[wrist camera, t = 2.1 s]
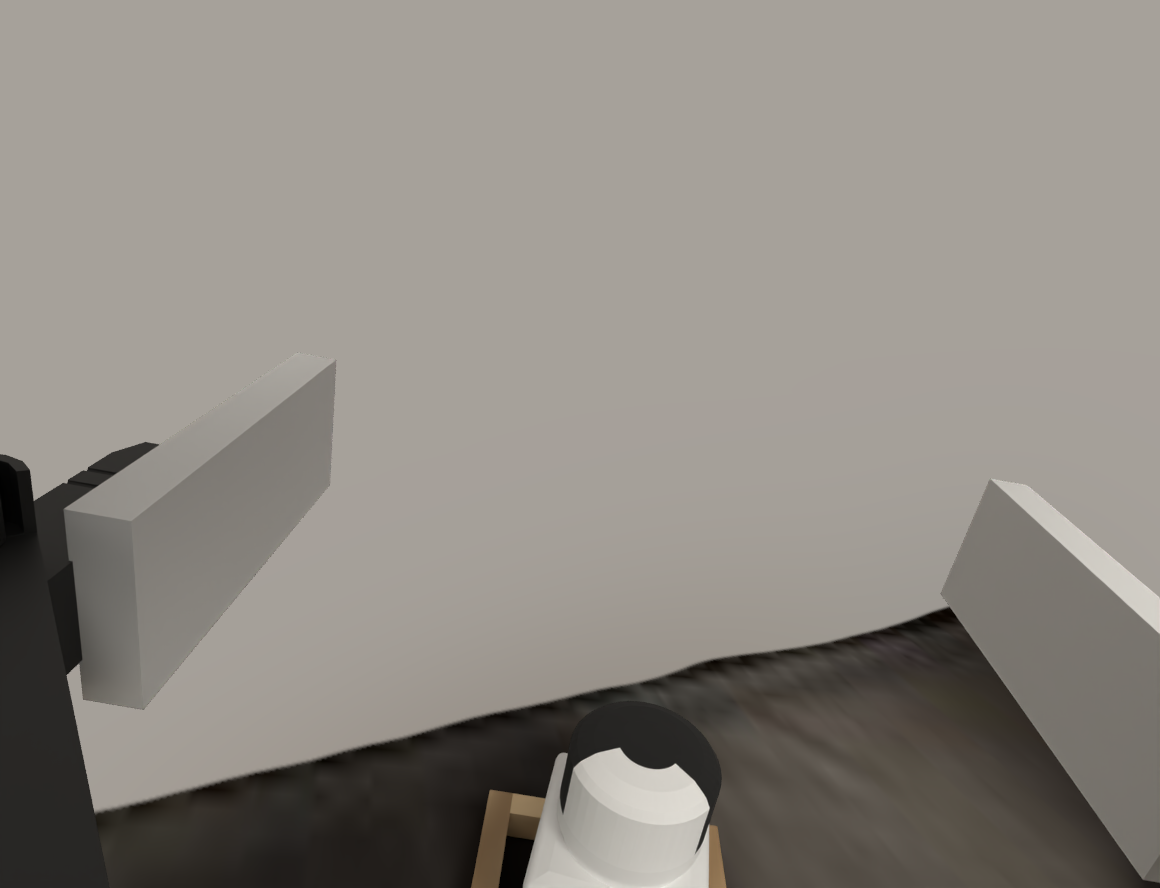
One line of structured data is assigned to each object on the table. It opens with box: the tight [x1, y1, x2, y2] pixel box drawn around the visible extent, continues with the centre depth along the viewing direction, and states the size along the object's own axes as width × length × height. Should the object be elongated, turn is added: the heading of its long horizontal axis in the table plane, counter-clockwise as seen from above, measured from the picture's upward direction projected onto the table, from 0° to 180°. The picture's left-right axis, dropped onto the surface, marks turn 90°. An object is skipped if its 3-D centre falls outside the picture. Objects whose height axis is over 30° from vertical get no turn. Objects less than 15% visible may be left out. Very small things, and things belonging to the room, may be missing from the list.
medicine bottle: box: [522, 701, 722, 888], centre depth 31 cm, size 7×7×12 cm
